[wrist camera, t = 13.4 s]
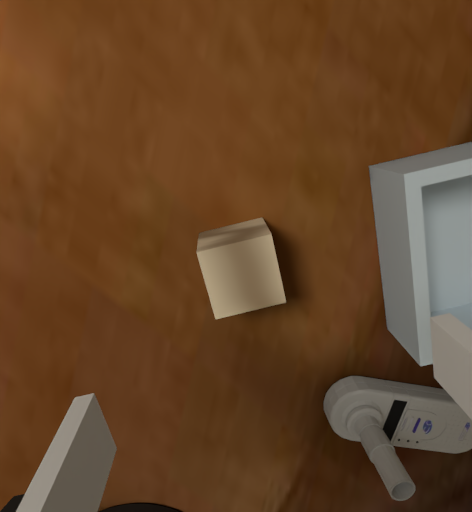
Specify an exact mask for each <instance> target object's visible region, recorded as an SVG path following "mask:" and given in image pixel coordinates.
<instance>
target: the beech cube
mask: <svg viewBox="0 0 472 512" xmlns="http://www.w3.org/2000/svg"><path fill="white" fill-rule="evenodd" d="M197 256H198V259H199V263H200V266H201V270H202V273H203V277H204V280H205V284H206V287H207V291H208V294H209V298H210V301H211V305H212V308H213V312H214V315H215V319H219V318H224V317H228V316H232V315H236V314H240V313H244V312H248V311H253V310H257V309H261V308H265V307H269V306H273V305H278V304H282V303H286V298H285V294H284V289H283V285H282V280H281V275H280V271H279V266H278V261H277V257H276V252H275V248H274V243H273V238H272V234H271V232H270V230H269V228H268V227H267V225H266V223H265V221H264V219H263V218H258V219H254V220H250V221H246V222H242V223H238V224H234V225H230V226H226V227H222V228H218V229H214V230H209V231H205V232H201V233H199V238H198V245H197Z"/></svg>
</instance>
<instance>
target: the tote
mask: <svg viewBox="0 0 472 512" xmlns="http://www.w3.org/2000/svg"><path fill="white" fill-rule="evenodd" d="M369 172H370V181H371V190H372V199H373V207H374V216H375V225H376V234H377V242H378V251H379V260H380V269H381V277H382V286H383V295H384V304H385V312H386V321H387V329H388V330H389V331H390V332H391V333H392V335H393V336H394V337H395V338H396V339H397V340H398V341H399V343H400V344H401V345H402V346H403V347H404V348H405V349H406V351H407V352H408V353H409V354H410V355H411V356H412V357H413V359H414V360H415V361H416V362H417V363H418V364H419V365H420V366H425V365H429V364H433V355H432V341H431V327H430V317H434V316H439V315H443V314H447V313H450V314H452V315H453V316H454V317H456V318H457V319H458V320H459V321H461V322H462V323H463V324H465V325H466V326H467V327H468V328H470V329H471V330H472V142H469V143H465V144H461V145H456V146H452V147H448V148H444V149H439V150H435V151H431V152H427V153H422V154H418V155H414V156H410V157H405V158H401V159H397V160H393V161H388V162H384V163H380V164H376V165H372V166H369Z"/></svg>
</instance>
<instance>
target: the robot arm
mask: <svg viewBox="0 0 472 512" xmlns="http://www.w3.org/2000/svg"><path fill="white" fill-rule="evenodd" d="M430 327H431V341H432V355H433V369H434V378H435V379H436V380H437V381H438V383H439V384H440V385H441V386H442V387H443V388H444V389H445V390H446V392H447V393H448V394H449V395H450V396H451V397H452V398H453V399H454V401H455V402H456V403H457V404H458V405H459V406H460V407H461V408H462V410H463V411H464V412H465V413H466V414H467V415H468V416H469V417H470V419H471V420H472V330H471V329H470V328H468V327H467V326H466V325H465V324H463V323H462V322H461V321H459V320H458V319H457V318H456V317H454V316H453V315H452V314H450V313H447V314H443V315H439V316H434V317H430ZM116 449H117V448H116V445H115V443H114V440H113V438H112V435H111V433H110V431H109V428H108V426H107V423H106V421H105V418H104V416H103V414H102V411H101V409H100V406H99V404H98V401H97V399H96V396H95V394H94V393H93V394H89V395H84V396H80V397H75V398H74V400H73V402H72V404H71V406H70V408H69V410H68V412H67V414H66V416H65V418H64V420H63V422H62V424H61V425H60V427H59V429H58V431H57V433H56V435H55V437H54V439H53V441H52V443H51V445H50V447H49V449H48V451H47V453H46V454H45V456H44V458H43V460H42V462H41V464H40V466H39V468H38V470H37V472H36V474H35V476H34V478H33V480H32V481H31V483H30V485H29V487H28V489H27V491H26V493H25V494H23V495H18V496H14V497H13V498H12V499H11V500H10V501H9V502H8V503H7V505H6V506H5V507H4V508H3V509H2V510H1V511H0V512H98V509H99V505H100V502H101V499H102V495H103V492H104V489H105V486H106V482H107V479H108V476H109V472H110V469H111V466H112V463H113V459H114V456H115V453H116ZM100 512H179V511H176V510H174V509H171V508H168V507H164V506H159V505H153V504H126V505H120V506H115V507H111V508H108V509H105V510H103V511H100Z"/></svg>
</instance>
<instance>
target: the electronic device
mask: <svg viewBox="0 0 472 512" xmlns="http://www.w3.org/2000/svg"><path fill="white" fill-rule="evenodd" d="M324 412H325V414H326V416H327V419H328V421H329V423H330V425H331V427H332V429H333V431H334V432H335V433H336V434H338V435H339V436H340V437H342V438H345V439H348V440H352V441H360V442H361V443H362V445H363V447H364V449H365V451H366V453H367V455H368V457H369V459H370V460H371V462H372V463H374V465H375V467H376V469H377V471H378V472H379V474H380V476H381V478H382V480H383V482H384V484H385V486H386V488H387V490H388V492H389V494H390V495H391V497H392V498H393V499H395V500H397V501H402V500H406V499H408V498H410V497H411V496H412V495H413V494H414V492H415V485H414V483H413V481H412V480H411V478H410V476H409V475H408V473H407V471H406V470H405V468H404V466H403V465H402V463H401V462H400V460H399V458H398V457H397V455H396V453H395V449H394V447H393V446H399V447H407V448H414V449H422V450H430V451H438V452H446V453H461V452H465V451H468V450H470V449H472V420H471V419H470V417H469V416H468V415H467V414H466V413H465V412H464V411H463V410H462V408H461V407H460V406H459V405H458V404H457V403H456V402H455V401H454V399H453V398H452V397H451V396H450V395H449V394H448V393H447V392H446V390H445V389H440V388H434V387H427V386H421V385H415V384H408V383H402V382H395V381H389V380H382V379H376V378H369V377H363V376H349V377H346V378H343V379H340V380H339V381H337V382H336V383H334V384H333V385H332V386H331V387H330V389H329V390H328V391H327V393H326V396H325V399H324Z"/></svg>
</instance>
